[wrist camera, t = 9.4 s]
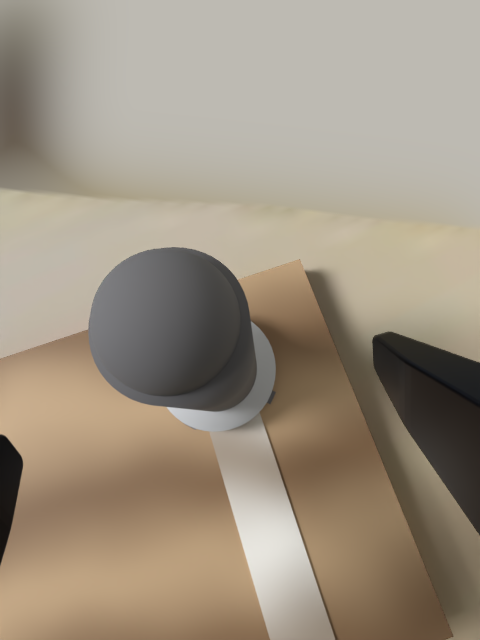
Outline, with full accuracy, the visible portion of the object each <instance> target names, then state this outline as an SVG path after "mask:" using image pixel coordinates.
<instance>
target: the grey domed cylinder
mask: <svg viewBox="0 0 480 640" xmlns="http://www.w3.org/2000/svg"><path fill="white" fill-rule="evenodd" d="M88 335H89V345H90V350H91V354H92V356H93V359H94V362H95V364H96V366H97V368H98V370H99V372H100V373H101V374H102V376H103V377H104V378H105V380H106V381H107V382H108V383H109V384H110V385H111V386H112V387H113V388H114V389H116V390H117V391H118V392H120V393H121V394H123V395H124V396H126V397H128V398H130V399H132V400H134V401H137V402H140V403H143V404H148V405H153V406H163V407H167V408H168V410H169V411H170V412H171V413H172V414H173V415H174V416H175V417H176V418H177V419H179V420H180V421H181V422H183V423H184V424H186V425H188V426H190V427H193V428H195V429H199V430H203V431H211V432H216V431H225V430H230V429H233V428H236V427H239V426H241V425H243V424H245V423H247V422H248V421H250V420H251V419H253V418H254V417H255V416H256V415H257V414H258V413H259V412H260V411H261V410H262V409H263V407H264V406H265V404H266V403H267V401H268V399H269V397H270V395H271V392H272V389H273V386H274V382H275V374H276V365H275V358H274V353H273V350H272V347H271V345H270V343H269V341H268V339H267V338H266V336H265V335H264V333H263V332H262V331H261V330H260V329H259V327H257V326H256V325H255V324H254V323H253V322H251V319H250V312H249V307H248V302H247V299H246V296H245V293H244V291H243V289H242V287H241V285H240V283H239V282H238V280H237V279H236V277H235V276H234V275H233V273H232V272H231V271H230V270H229V269H228V268H227V267H226V266H224V265H223V264H222V263H221V262H220V261H218V260H216V259H215V258H213V257H212V256H209V255H207V254H205V253H203V252H200V251H196V250H193V249H187V248H177V247H171V248H161V249H153V250H147V251H144V252H141V253H138V254H135V255H133V256H131V257H129V258H127V259H126V260H124V261H122V262H121V263H120V264H119V265H117V266H116V267H115V268H114V269H113V270H112V271H111V272H110V273H109V274H108V275H107V276H106V278H105V279H104V280H103V282H102V283H101V285H100V286H99V288H98V290H97V292H96V294H95V297H94V300H93V303H92V308H91V314H90V319H89V330H88Z"/></svg>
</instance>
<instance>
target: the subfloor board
mask: <svg viewBox="0 0 480 640" xmlns="http://www.w3.org/2000/svg"><path fill="white" fill-rule="evenodd" d="M238 282H239V283H240V285H241V287H242V289H243V291H244V293H245V296H246V299H247V302H248V307H249V312H250V319H251V322H253V323H254V324H255V325H256V326H257V327H259V329H260V330H261V331H262V332H263V333H264V335H265V336H266V338H267V339H268V341H269V343H270V345H271V347H272V350H273V353H274V358H275V365H276V374H275V382H274V386H273V389H272V392H271V395H270V397H269V399H268V401H267V403H266V404H265V406H264V407H263V409H262V410H261V411H260V412H259V413H258V414H257V415H256V416H255V417H254V418H253V419H251V420H250V421H248V422H247V423H245V424H243V425H241V426H239V427H236V428H233V429H230V430H225V431H216V432H211V431H203V430H199V429H195V428H193V427H190V426H188V425H186V424H184V423H183V422H181V421H180V420H179V419H177V418H176V417H175V416H174V415H173V414H172V413H171V412H170V411H169V410H168V408H167V407H163V406H153V405H148V404H143V403H140V402H137V401H134V400H132V399H130V398H128V397H126V396H124V395H123V394H121V393H120V392H118V391H117V390H116V389H114V388H113V387H112V386H111V385H110V384H109V383H108V382H107V381H106V380H105V378H104V377H103V376H102V374H101V373H100V372H99V370H98V368H97V366H96V364H95V362H94V359H93V356H92V354H91V350H90V345H89V335H88V330H89V329H88V330H85V331H82V332H79V333H76V334H73V335H70V336H67V337H64V338H61V339H58V340H55V341H52V342H49V343H46V344H43V345H40V346H37V347H34V348H31V349H28V350H25V351H22V352H19V353H16V354H13V355H10V356H7V357H4V358H1V359H0V434H3V435H5V436H6V437H7V438H8V439H9V440H10V442H11V443H12V444H13V446H14V447H15V448H16V450H17V451H18V452H19V453H20V455H21V456H22V459H23V470H22V476H21V481H20V486H19V491H18V496H17V502H16V507H15V512H14V517H13V522H12V527H11V531H10V535H9V538H8V542H7V545H6V549H5V552H4V555H3V559H2V562H1V566H0V640H445V639H448V638H451V637H453V634H452V632H451V629H450V627H449V624H448V622H447V619H446V617H445V614H444V612H443V610H442V607H441V605H440V602H439V600H438V597H437V595H436V592H435V590H434V588H433V585H432V583H431V580H430V578H429V575H428V573H427V570H426V568H425V565H424V563H423V561H422V558H421V556H420V553H419V551H418V548H417V546H416V543H415V541H414V538H413V536H412V534H411V531H410V529H409V526H408V524H407V521H406V519H405V516H404V514H403V511H402V509H401V507H400V504H399V502H398V499H397V497H396V494H395V492H394V489H393V487H392V484H391V482H390V480H389V477H388V475H387V472H386V470H385V467H384V465H383V462H382V460H381V457H380V455H379V453H378V450H377V448H376V445H375V443H374V440H373V438H372V435H371V433H370V430H369V428H368V426H367V423H366V421H365V418H364V416H363V413H362V411H361V408H360V406H359V403H358V401H357V399H356V396H355V394H354V391H353V389H352V386H351V384H350V381H349V379H348V376H347V374H346V372H345V369H344V367H343V364H342V362H341V359H340V357H339V354H338V352H337V349H336V347H335V345H334V342H333V340H332V337H331V335H330V332H329V330H328V327H327V325H326V322H325V320H324V318H323V315H322V313H321V310H320V308H319V305H318V303H317V300H316V298H315V295H314V293H313V291H312V288H311V286H310V283H309V281H308V278H307V276H306V273H305V271H304V268H303V266H302V264H301V261H300V259H299V260H296V261H293V262H290V263H287V264H284V265H281V266H278V267H275V268H272V269H269V270H266V271H263V272H260V273H257V274H254V275H251V276H248V277H245V278H242V279H239V280H238Z"/></svg>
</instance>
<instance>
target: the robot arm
mask: <svg viewBox="0 0 480 640" xmlns="http://www.w3.org/2000/svg"><path fill="white" fill-rule="evenodd" d="M372 343H373V362H374V368H375V371H376V373H377V375H378V377H379V379H380V381H381V383H382V384H383V386H384V388H385V390H386V392H387V394H388V396H389V398H390V400H391V401H392V403H393V405H394V407H395V409H396V411H397V413H398V415H399V416H400V418H401V420H402V422H403V424H404V425H405V427H406V429H407V430H408V432H409V433H410V435H411V436H412V438H413V439H414V440H415V442H416V443H417V445H418V446H419V448H420V449H421V451H422V452H423V454H424V455H425V456H426V458H427V459H428V461H429V462H430V464H431V465H432V467H433V468H434V470H435V471H436V472H437V474H438V475H439V477H440V478H441V480H442V481H443V483H444V484H445V485H446V487H447V488H448V490H449V491H450V493H451V494H452V496H453V497H454V499H455V500H456V501H457V503H458V504H459V506H460V507H461V509H462V510H463V512H464V513H465V515H466V516H467V517H468V519H469V520H470V522H471V523H472V525H473V526H474V528H475V529H476V531H477V532H478V533H479V535H480V363H479V362H476V361H473V360H470V359H468V358H465V357H462V356H459V355H456V354H453V353H450V352H448V351H445V350H442V349H439V348H436V347H433V346H431V345H428V344H425V343H422V342H419V341H416V340H414V339H411V338H408V337H405V336H402V335H399V334H397V333H394V332H385V333H382V334H378V335H375V336H374V337H373V341H372ZM22 470H23V459H22V456H21V455H20V453H19V452H18V451H17V450H16V448H15V447H14V446H13V444H12V443H11V442H10V440H9V439H8V438H7V437H6V436H5V435H3V434H0V566H1V562H2V559H3V555H4V552H5V549H6V545H7V542H8V538H9V535H10V531H11V527H12V522H13V517H14V512H15V507H16V502H17V496H18V491H19V486H20V481H21V476H22Z"/></svg>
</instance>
